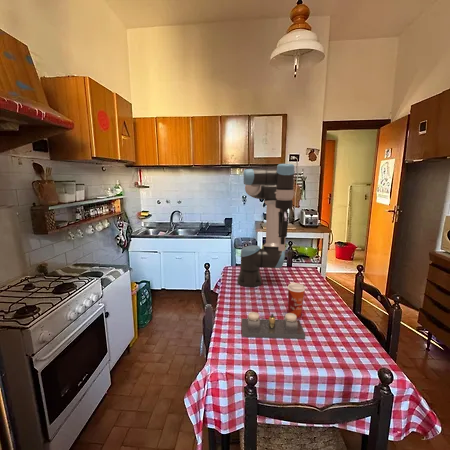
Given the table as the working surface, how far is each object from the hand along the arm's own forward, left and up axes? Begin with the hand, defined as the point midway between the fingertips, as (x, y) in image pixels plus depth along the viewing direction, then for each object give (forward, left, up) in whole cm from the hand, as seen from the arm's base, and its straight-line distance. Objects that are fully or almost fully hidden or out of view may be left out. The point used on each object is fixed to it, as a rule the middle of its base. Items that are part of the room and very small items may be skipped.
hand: (281, 250), depth 123 cm
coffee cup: (-1, +8, -33) cm, 34 cm away
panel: (+13, -5, -32) cm, 35 cm away
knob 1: (+13, -13, -30) cm, 35 cm away
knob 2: (+13, +3, -30) cm, 33 cm away
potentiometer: (+13, -5, -30) cm, 33 cm away
